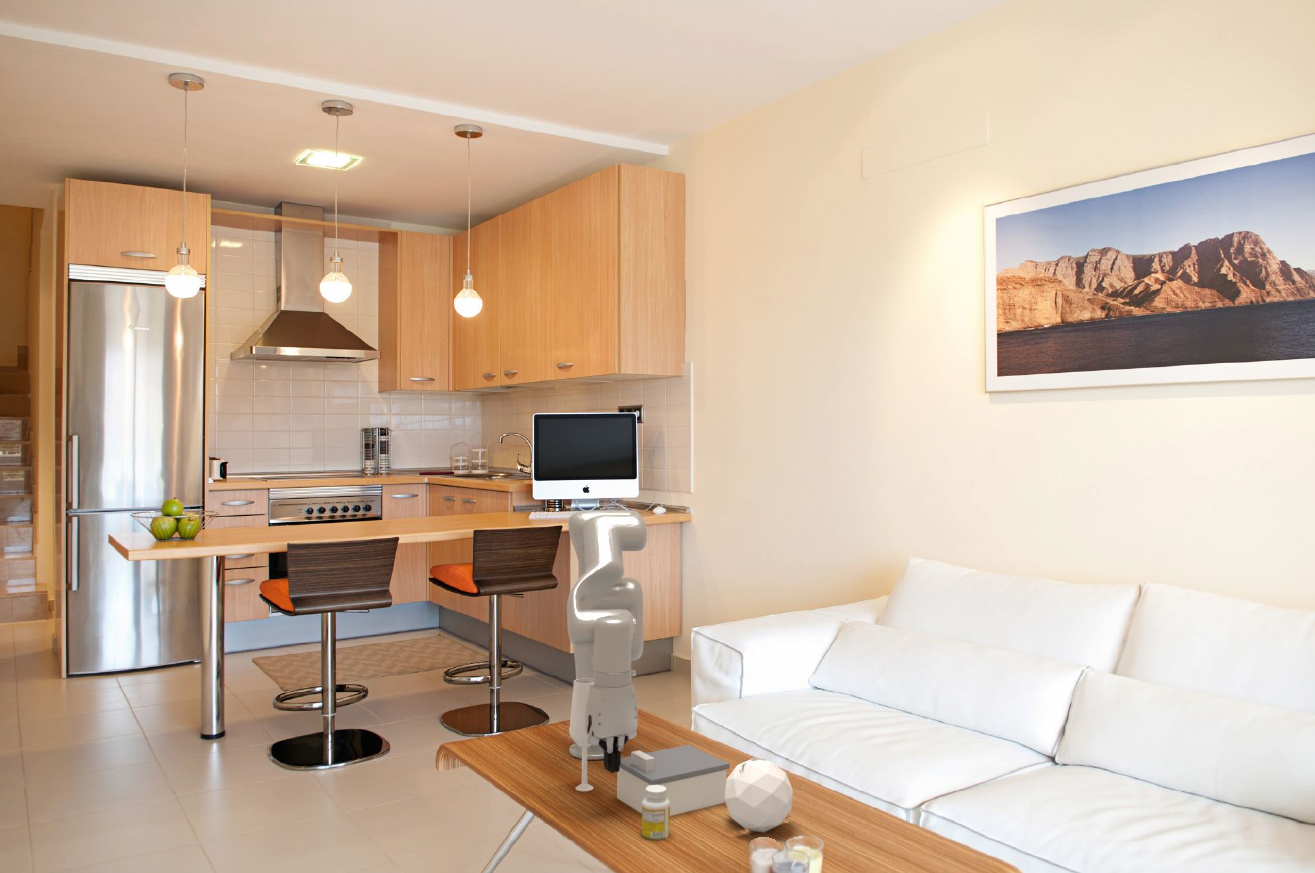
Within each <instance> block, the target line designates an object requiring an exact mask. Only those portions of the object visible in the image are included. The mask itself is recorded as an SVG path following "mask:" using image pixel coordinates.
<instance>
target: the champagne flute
mask: <svg viewBox="0 0 1315 873" xmlns="http://www.w3.org/2000/svg"><path fill="white" fill-rule="evenodd" d="M591 685H594V679H590V678H581V679H576V678H575V679H574V680H573V687H572V696H571V697H572V698H571V708H570V718H569V728H568V733H569V736H570V738H571V739H572V741H573V742H574V743H576V744H578V745H579V746H580V747H582V759H581V783H580V784H579V785H577V786H575V790H576V791H579V792H588V791H592V790H594V786H593V785H591V784H589V783H588V759H587V747H589V746H590V745H591V744H589V743H588V742H587V740H588V735H589V734H587V733H586V732H585V715H586V704H587V698H588V693H589V688H590V686H591Z"/></svg>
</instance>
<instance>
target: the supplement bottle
mask: <svg viewBox="0 0 1315 873" xmlns="http://www.w3.org/2000/svg"><path fill="white" fill-rule="evenodd" d="M645 795H646V798H645V799H644V800H643V801H642V814H641V836H642V838H644V839H646V840H650V841H660V840H665V839H667V838H669V837H670V833H671V832H670V828H671V827H670V826H671V825H670V823H671V822H670V821H671V818H670V817H671V816H670V802H669V800H668V799H667V798H666V795H667V790H666V787H664V786H661V785H650V786H647V787H646V791H645Z"/></svg>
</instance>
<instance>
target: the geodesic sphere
mask: <svg viewBox="0 0 1315 873" xmlns="http://www.w3.org/2000/svg"><path fill="white" fill-rule="evenodd" d="M789 779H790V778H789V777H788V775H787V773H786V771H784V770H783V769H781V768H780V767H778V766H777V765H776V764H775V763H773V762H772V761H769V760H766V759H765V758H760V757H755V756H754V757H752V756H751V757H750V759H748V760H746V761H744V762H742V763H739V764H737V765H735V768H734V769H733V770H732V771H731V773H730V774H729V775H728V776H727V777H726V786H725V798H724V799H725V802H726V803H725V804H726V807H727V810H728V813H729V816H730V818H731V819H732V820H734V821H735V822H736V823H737V824H738V825H740V826H741V827H742V828H744V829H745V830H749V831H754V832H758V833H766V832H768V831H770V830H772V829H774V828H776V827H778V826H780V825H781V824H782V822H784V821H785V819H786V818H787V817H788V815H789V814H790V813H791V811H792V809H793V808H792V807H793V796H794V790H793V788H792V784H791V782H790V780H789Z"/></svg>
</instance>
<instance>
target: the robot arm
mask: <svg viewBox="0 0 1315 873" xmlns="http://www.w3.org/2000/svg"><path fill="white" fill-rule="evenodd" d="M568 533H569V537H570V542H571V543H572V545H573V549H574V552H575V554H576V557H577V562H578V565H577V566H578V571H577V572H578V578H577V580H576V581H575V583H574V584H573V585H572V588H571V589H570V592H569V594H568V597H567V604H566V605H567V606H566V617H567V618H566V619H567V623H566V624H567V634H568V638H569V641H570V642H571V643H572V649H573V657H574V665H575V680H576V679H581V678H590V679H594V685H591V686H590V688H589V693H588V698H587V704H586V715H585V732H586V733H587V734H589V735H588V740H587V742H588V743H589V744H591V745H590V746H589V747H587V760H589V761H590V760H594V761H596V760H603V767H604V769H605V771H608V772H610V773H611V774H613V773H615V772H616V773H617V772H619V771H620V764H621V758H622V756H621V755H622V754H621V752H622V751H624V746H625V745H626V744H627V742H628V741H629V740H632V739H634V738H636V737H637V735H638V734H637V733H638V732H637V729H638V725H639V724H638V723H639V717H638V716H639V714H638V713H639V712H638V702H637V701H638V700H637V694H636V689H635V684H634V683H633V682H632V680H633V679H632V678H633V677H636V676H637V671H636V670H635V669H632V661H633V662H634V661H637V660H639V659H640V658H641V657H642V655H643V651H644V641H645V640H644V639H645V638H644V635H645V634H644V629H645V628H644V594H643V588H642V585H641V583H640V582H639V581H638V580H637V579H635V578H632V577H624V573H625V567H624V559H623V552H640V551H643V549H644V548H645V547H646V544H647V539H648V530H647V525H646V521H645V520H644V518H643V516H642V515H641V514H640V512H638V511H636V510H628V509H627V510H626V509H624V510H623V509H622V510H619V509H617V510H610V509H609V510H608V509H607V510H605V509H603V510H602V509H596V510H595V509H593V510H581V511H576V512H574V513H572V514H571V515H570V516H569V519H568ZM569 754H570V755H571V756H573V757H575V758H577V759H580V760H582V747H580V746H579V745H578V744H576V743H575V742H574V743H573V744H571V745H570V746H569Z"/></svg>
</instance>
